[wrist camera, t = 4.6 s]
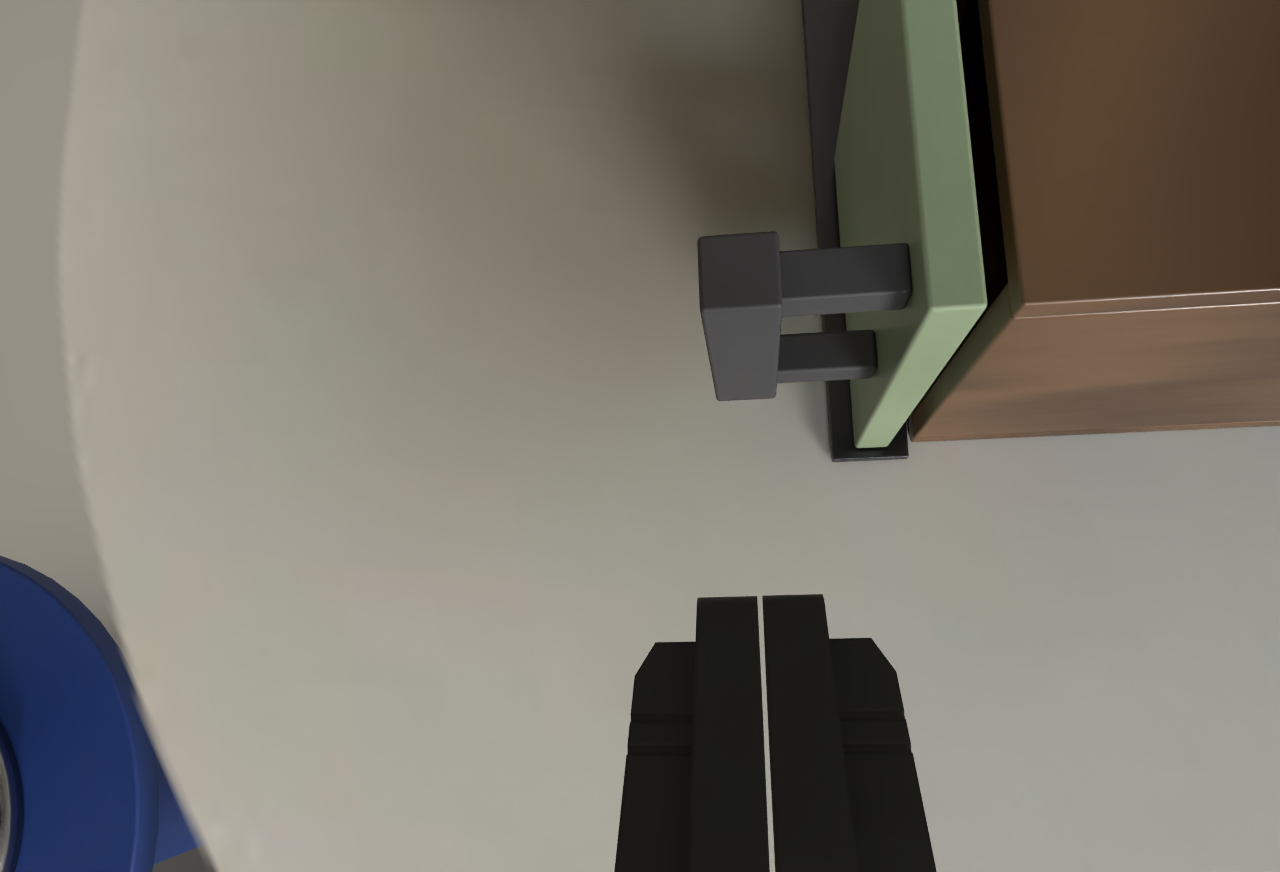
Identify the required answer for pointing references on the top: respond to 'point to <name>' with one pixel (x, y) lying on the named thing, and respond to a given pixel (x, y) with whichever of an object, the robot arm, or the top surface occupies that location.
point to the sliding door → (867, 239)
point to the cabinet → (1097, 217)
